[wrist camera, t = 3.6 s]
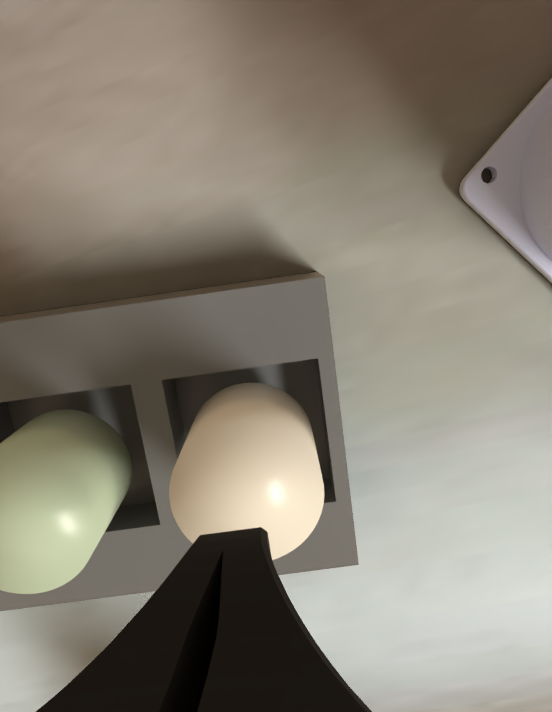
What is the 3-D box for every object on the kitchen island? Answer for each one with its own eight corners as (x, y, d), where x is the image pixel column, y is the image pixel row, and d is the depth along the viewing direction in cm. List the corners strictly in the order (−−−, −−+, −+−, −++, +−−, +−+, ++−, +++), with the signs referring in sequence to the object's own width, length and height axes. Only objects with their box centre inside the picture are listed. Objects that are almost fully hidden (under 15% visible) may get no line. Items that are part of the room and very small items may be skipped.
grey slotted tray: (317, 271, 18) (324, 276, 15) (347, 525, 20) (358, 564, 18) (-180, 342, 18) (-250, 358, 16) (-97, 583, 21) (-146, 629, 18)
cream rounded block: (305, 374, 16) (314, 412, 13) (320, 489, 17) (332, 553, 14) (180, 391, 16) (155, 433, 13) (201, 504, 17) (184, 572, 14)
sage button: (118, 401, 16) (76, 446, 13) (143, 513, 17) (110, 584, 14) (-5, 418, 16) (-80, 466, 13) (26, 528, 17) (-36, 602, 14)
